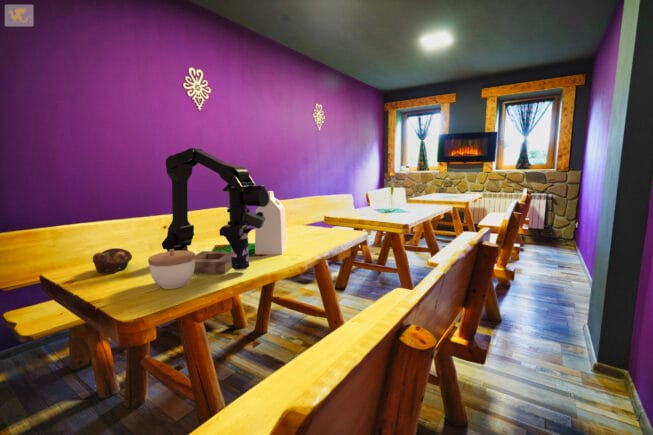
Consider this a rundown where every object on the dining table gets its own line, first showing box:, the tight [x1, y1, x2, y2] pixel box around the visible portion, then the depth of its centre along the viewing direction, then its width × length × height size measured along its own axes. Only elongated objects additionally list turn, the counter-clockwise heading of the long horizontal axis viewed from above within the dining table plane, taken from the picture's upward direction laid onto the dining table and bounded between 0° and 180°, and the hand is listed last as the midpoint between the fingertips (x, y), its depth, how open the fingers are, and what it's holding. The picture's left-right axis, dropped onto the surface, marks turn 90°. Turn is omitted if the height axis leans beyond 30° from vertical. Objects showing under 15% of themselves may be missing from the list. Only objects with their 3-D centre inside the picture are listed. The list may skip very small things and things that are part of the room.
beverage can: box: [230, 233, 250, 272], centre depth 101 cm, size 6×6×12 cm
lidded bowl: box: [147, 249, 196, 290], centre depth 91 cm, size 13×13×11 cm
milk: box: [254, 190, 288, 256], centre depth 130 cm, size 12×12×26 cm
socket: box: [194, 250, 233, 275], centre depth 108 cm, size 14×14×4 cm
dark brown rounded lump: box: [92, 247, 133, 274], centre depth 104 cm, size 10×15×8 cm, turn 0°
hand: (239, 251), depth 101 cm, fingers closed on beverage can, 6 cm apart
